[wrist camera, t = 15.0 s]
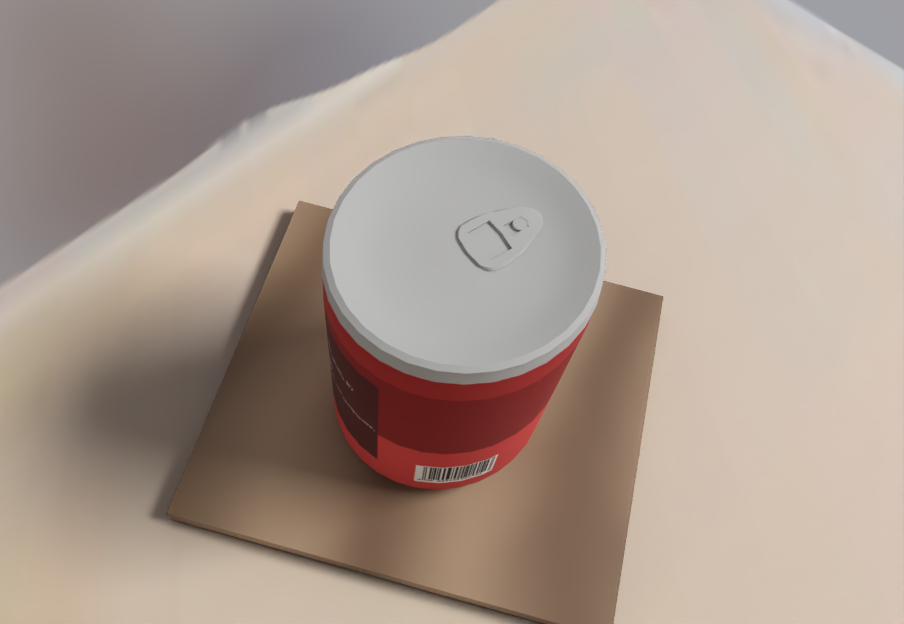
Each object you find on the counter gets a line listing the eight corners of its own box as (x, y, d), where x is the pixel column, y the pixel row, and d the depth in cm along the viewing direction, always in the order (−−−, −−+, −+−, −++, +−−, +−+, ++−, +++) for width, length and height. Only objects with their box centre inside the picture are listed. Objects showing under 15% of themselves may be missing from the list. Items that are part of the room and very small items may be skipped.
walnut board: (657, 305, 36) (663, 296, 36) (605, 641, 30) (611, 638, 29) (300, 211, 37) (299, 200, 36) (171, 518, 30) (166, 513, 30)
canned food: (577, 389, 33) (663, 236, 24) (446, 543, 30) (483, 438, 20) (430, 274, 35) (454, 88, 26) (291, 407, 32) (259, 252, 22)
